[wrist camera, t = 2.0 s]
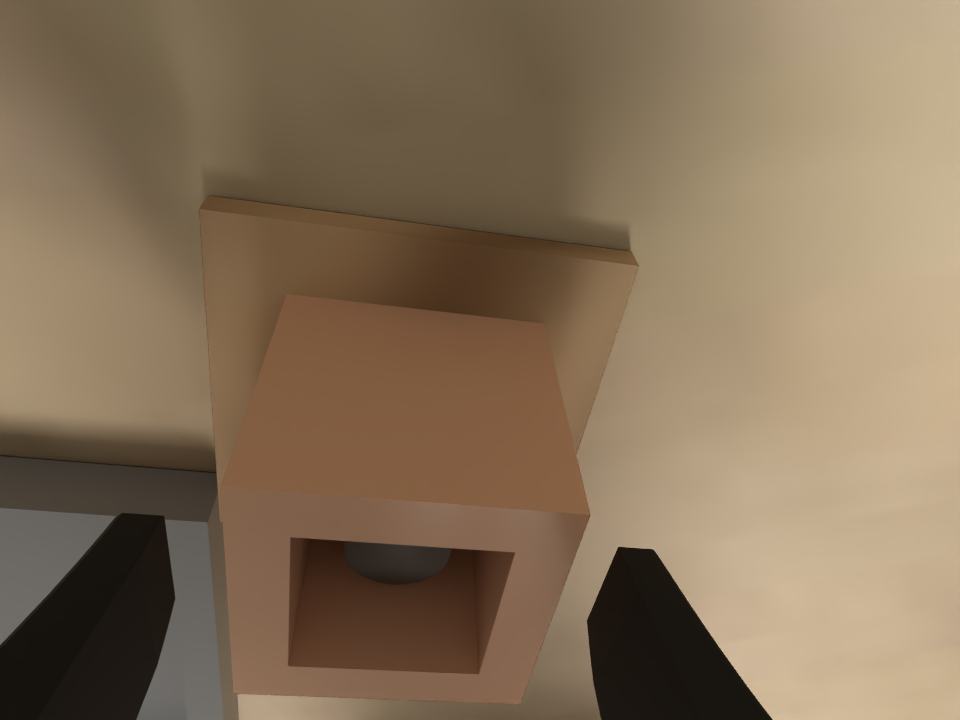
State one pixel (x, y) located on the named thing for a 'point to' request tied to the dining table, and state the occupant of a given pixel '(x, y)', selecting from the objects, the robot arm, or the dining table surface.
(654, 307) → the dining table surface
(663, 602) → the robot arm
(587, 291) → the stand
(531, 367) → the brown cube box
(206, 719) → the tray
